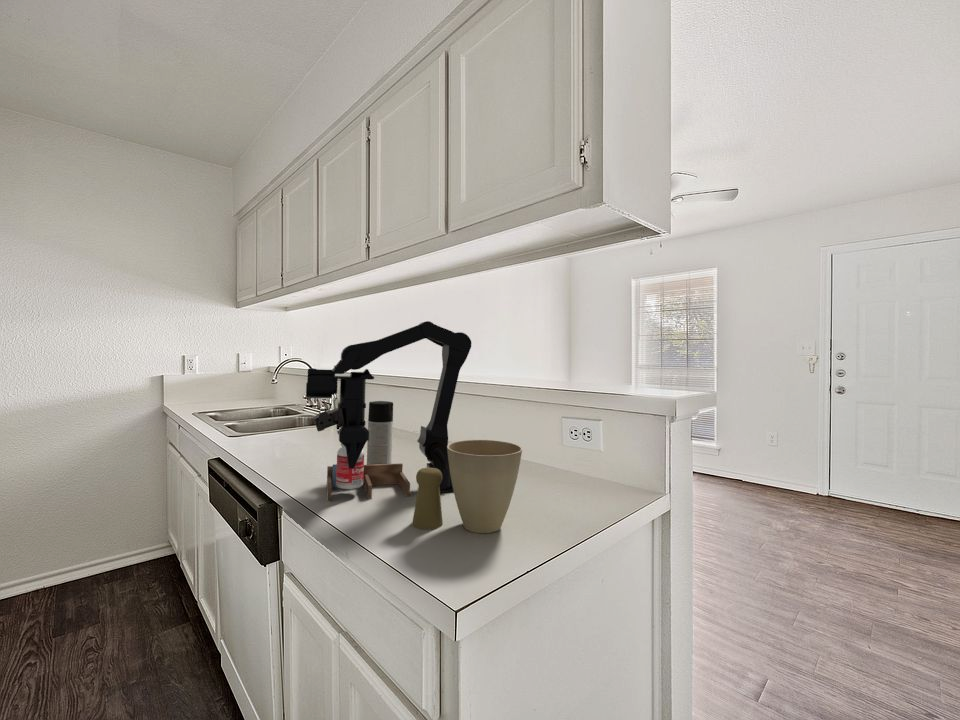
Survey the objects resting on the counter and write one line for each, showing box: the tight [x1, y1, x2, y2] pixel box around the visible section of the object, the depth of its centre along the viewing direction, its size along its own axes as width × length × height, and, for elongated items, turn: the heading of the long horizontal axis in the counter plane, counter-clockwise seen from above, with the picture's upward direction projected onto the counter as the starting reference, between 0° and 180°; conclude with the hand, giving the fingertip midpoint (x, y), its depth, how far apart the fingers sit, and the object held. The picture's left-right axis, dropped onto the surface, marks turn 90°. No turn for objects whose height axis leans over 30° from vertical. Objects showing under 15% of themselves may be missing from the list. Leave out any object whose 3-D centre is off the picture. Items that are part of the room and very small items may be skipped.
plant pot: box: [447, 439, 523, 534], centre depth 91 cm, size 15×15×16 cm
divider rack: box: [326, 463, 411, 502], centre depth 111 cm, size 18×12×6 cm, turn 109°
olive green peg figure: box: [411, 467, 443, 530], centre depth 92 cm, size 6×6×11 cm
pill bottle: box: [336, 443, 365, 490], centre depth 108 cm, size 6×6×11 cm
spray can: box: [366, 400, 394, 465], centre depth 126 cm, size 7×7×20 cm
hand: (350, 464), depth 108 cm, fingers closed on pill bottle, 6 cm apart
